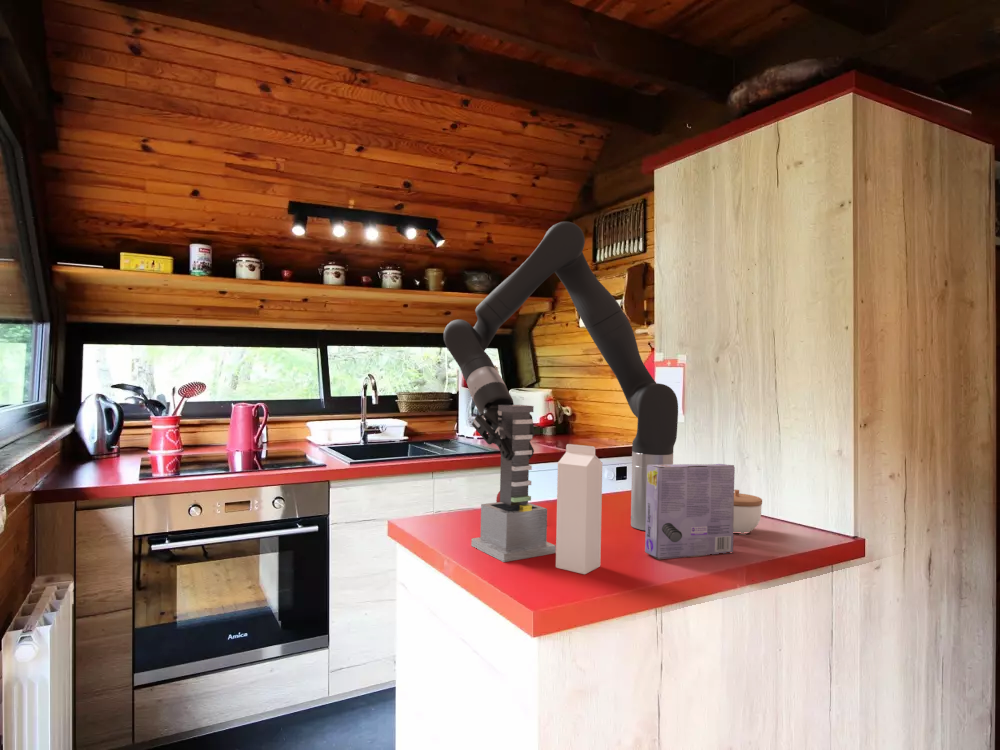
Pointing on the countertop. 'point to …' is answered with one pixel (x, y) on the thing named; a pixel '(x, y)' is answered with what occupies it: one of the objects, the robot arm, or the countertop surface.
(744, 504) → the lidded jar
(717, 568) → the countertop surface
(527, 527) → the stand
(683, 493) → the cake pan box
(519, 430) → the column
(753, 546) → the countertop surface
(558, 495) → the milk
